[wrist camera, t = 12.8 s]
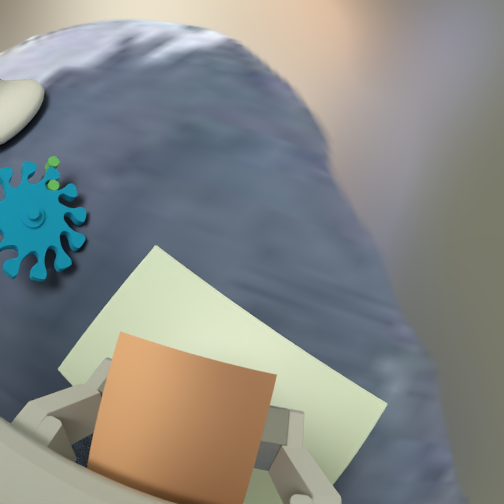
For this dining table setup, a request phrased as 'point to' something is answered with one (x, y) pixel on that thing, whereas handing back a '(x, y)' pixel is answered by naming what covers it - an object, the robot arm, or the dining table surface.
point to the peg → (179, 423)
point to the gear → (37, 219)
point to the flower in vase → (18, 105)
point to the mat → (231, 359)
